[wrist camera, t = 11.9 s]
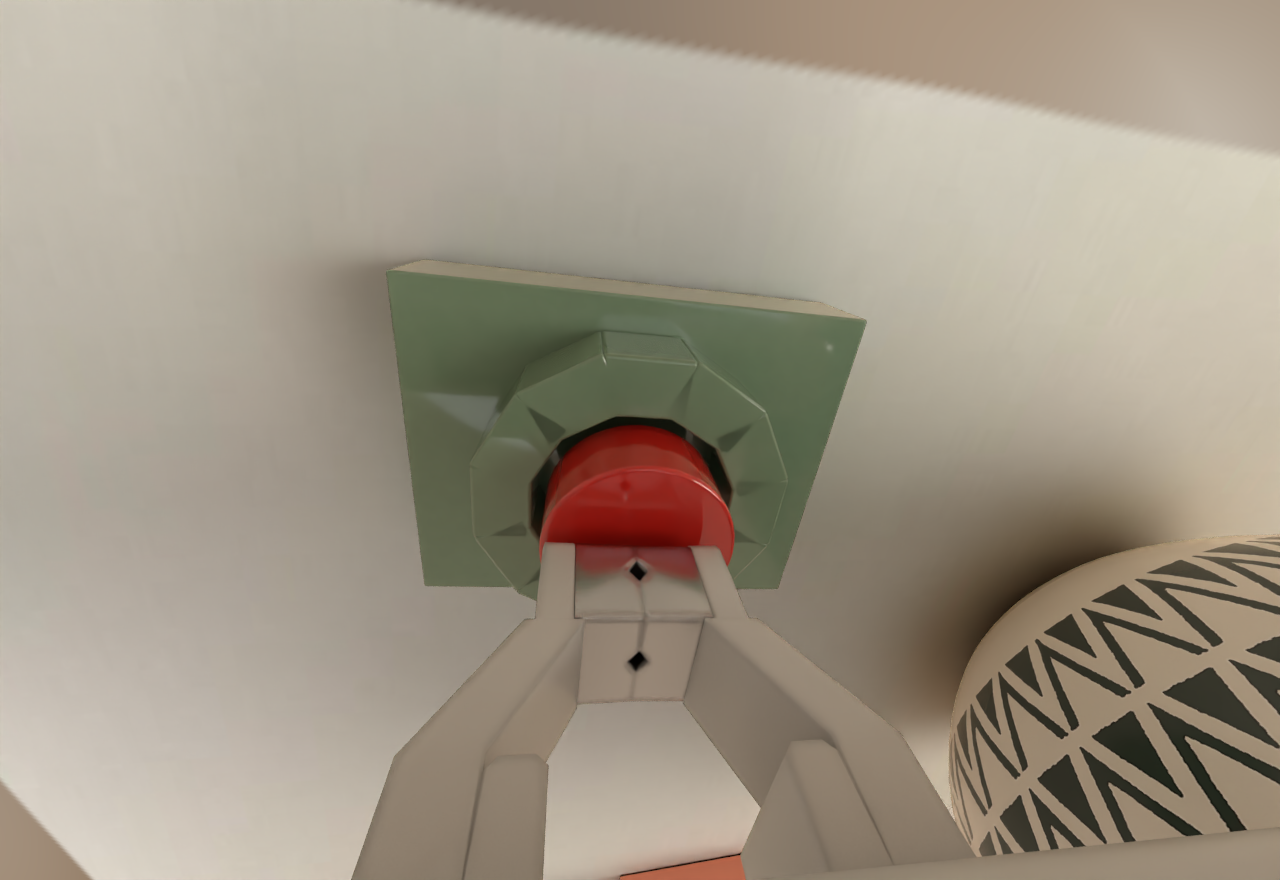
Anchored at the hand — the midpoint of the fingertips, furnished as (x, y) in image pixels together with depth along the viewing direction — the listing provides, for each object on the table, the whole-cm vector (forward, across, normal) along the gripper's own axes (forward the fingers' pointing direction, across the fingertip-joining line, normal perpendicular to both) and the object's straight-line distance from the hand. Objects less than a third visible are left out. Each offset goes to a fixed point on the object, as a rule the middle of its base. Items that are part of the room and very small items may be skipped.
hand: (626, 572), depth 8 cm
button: (+2, 0, 0) cm, 2 cm away
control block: (+6, 0, 0) cm, 6 cm away
